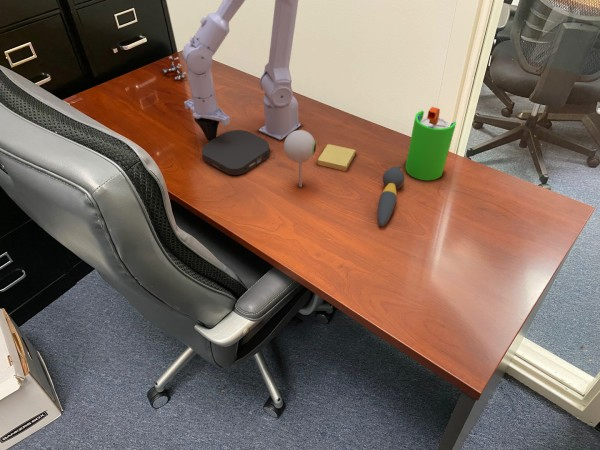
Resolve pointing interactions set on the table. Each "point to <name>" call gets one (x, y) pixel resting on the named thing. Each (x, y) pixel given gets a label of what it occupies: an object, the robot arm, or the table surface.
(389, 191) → the grey microphone
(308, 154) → the lollipop
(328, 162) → the sticky note pad
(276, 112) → the robot arm
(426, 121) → the green upright cylinder
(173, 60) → the molecule model
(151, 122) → the table surface
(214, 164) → the media streaming box
